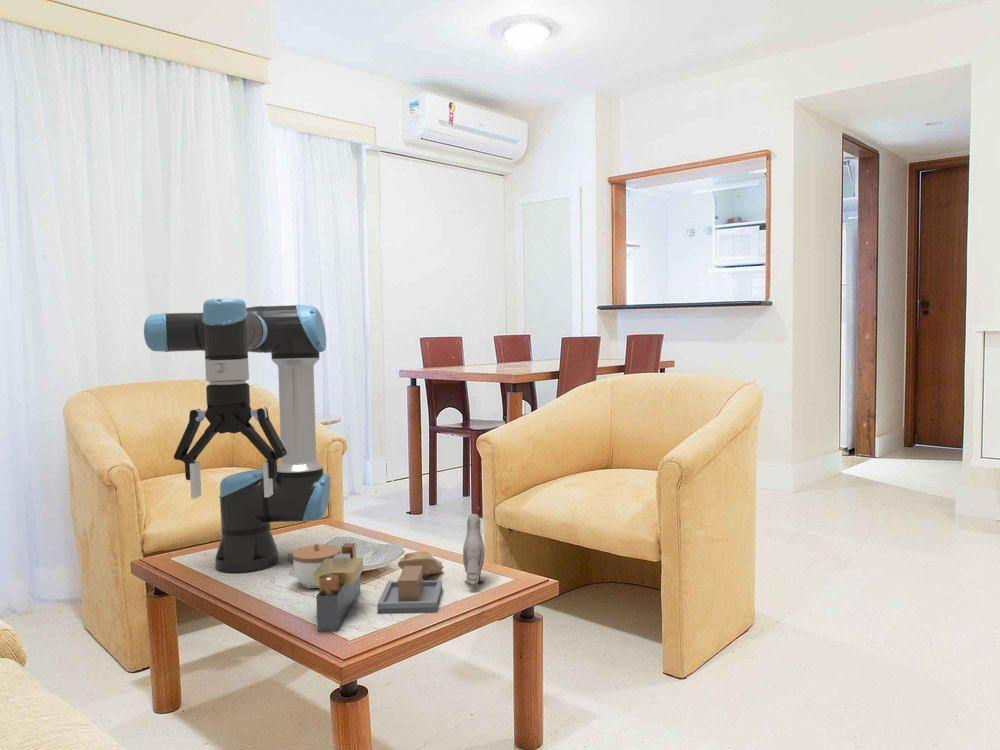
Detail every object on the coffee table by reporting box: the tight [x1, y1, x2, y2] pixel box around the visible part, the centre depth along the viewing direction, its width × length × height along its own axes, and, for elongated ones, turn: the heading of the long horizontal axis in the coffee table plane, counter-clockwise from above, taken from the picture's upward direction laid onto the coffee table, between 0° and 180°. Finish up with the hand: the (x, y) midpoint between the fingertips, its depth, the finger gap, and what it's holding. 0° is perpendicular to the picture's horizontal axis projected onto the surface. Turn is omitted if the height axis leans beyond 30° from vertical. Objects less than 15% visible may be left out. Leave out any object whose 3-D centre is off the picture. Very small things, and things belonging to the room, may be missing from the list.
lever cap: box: [313, 553, 364, 586], centre depth 154 cm, size 10×8×4 cm
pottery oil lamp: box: [397, 550, 444, 578], centre depth 174 cm, size 9×12×7 cm
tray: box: [376, 566, 443, 614], centre depth 159 cm, size 14×12×6 cm
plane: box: [315, 542, 362, 633], centre depth 154 cm, size 22×4×11 cm, turn 0°
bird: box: [462, 513, 486, 586], centre depth 169 cm, size 5×14×15 cm, turn 179°
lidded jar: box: [291, 543, 342, 589], centre depth 171 cm, size 11×11×9 cm
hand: (232, 496), depth 139 cm, fingers open, 13 cm apart
